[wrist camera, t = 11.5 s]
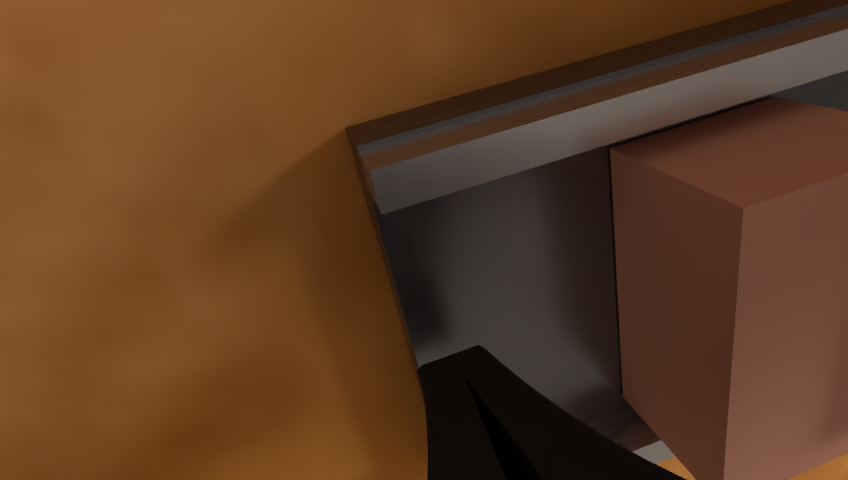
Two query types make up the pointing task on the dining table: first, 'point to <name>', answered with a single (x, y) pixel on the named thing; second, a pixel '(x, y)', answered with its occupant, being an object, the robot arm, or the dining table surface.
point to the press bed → (563, 195)
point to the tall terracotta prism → (737, 288)
